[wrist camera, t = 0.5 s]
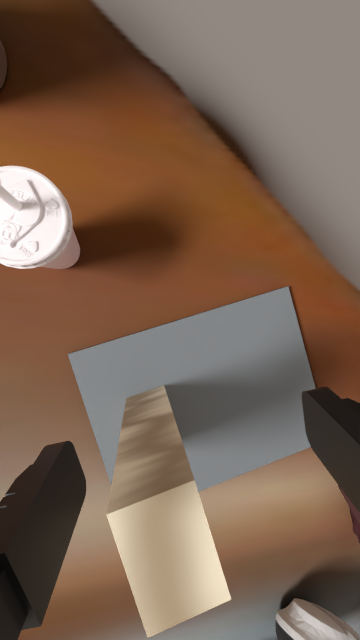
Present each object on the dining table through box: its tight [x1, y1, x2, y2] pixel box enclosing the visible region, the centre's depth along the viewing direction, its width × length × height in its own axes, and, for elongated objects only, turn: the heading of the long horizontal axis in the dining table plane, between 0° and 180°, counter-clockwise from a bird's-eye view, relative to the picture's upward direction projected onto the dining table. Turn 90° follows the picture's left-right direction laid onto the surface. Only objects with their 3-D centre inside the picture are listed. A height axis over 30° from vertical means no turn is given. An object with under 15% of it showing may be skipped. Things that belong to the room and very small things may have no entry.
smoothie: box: [0, 166, 80, 269], centre depth 20 cm, size 6×6×14 cm
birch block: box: [106, 385, 231, 637], centre depth 20 cm, size 4×6×16 cm
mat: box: [68, 287, 316, 492], centre depth 29 cm, size 24×18×1 cm
